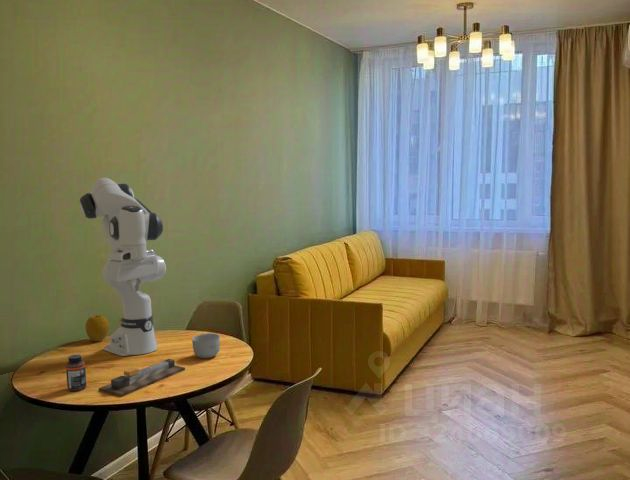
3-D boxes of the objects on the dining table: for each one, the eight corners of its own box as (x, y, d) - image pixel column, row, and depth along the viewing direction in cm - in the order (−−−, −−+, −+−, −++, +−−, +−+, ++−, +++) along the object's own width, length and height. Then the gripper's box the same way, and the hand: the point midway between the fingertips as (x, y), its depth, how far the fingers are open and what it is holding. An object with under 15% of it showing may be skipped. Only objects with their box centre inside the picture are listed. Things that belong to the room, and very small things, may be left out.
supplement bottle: (71, 385, 188) (69, 353, 187) (89, 385, 188) (87, 353, 187) (64, 392, 182) (62, 359, 181) (83, 391, 183) (81, 358, 181)
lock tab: (129, 376, 185) (129, 372, 185) (123, 375, 186) (123, 371, 186) (138, 372, 189) (138, 368, 188) (133, 371, 190) (132, 367, 190)
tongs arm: (129, 381, 185) (129, 377, 185) (123, 379, 187) (123, 376, 186) (174, 363, 203) (174, 360, 203) (168, 362, 205) (168, 358, 205)
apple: (113, 337, 248) (112, 312, 247) (103, 343, 238) (101, 317, 237) (93, 337, 249) (91, 311, 248) (81, 343, 239) (80, 317, 238)
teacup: (214, 361, 212) (213, 340, 211) (188, 359, 214) (187, 339, 214) (227, 350, 226) (226, 331, 225) (202, 349, 228) (201, 330, 227)
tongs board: (121, 396, 177) (121, 385, 177) (99, 391, 183) (98, 379, 182) (184, 369, 202) (184, 359, 202) (163, 365, 208) (162, 355, 207)
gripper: (149, 248, 203) (150, 285, 205) (103, 255, 185) (105, 295, 187) (161, 249, 200) (163, 287, 201) (116, 256, 182) (118, 297, 184)
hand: (135, 291), depth 194 cm, fingers closed
